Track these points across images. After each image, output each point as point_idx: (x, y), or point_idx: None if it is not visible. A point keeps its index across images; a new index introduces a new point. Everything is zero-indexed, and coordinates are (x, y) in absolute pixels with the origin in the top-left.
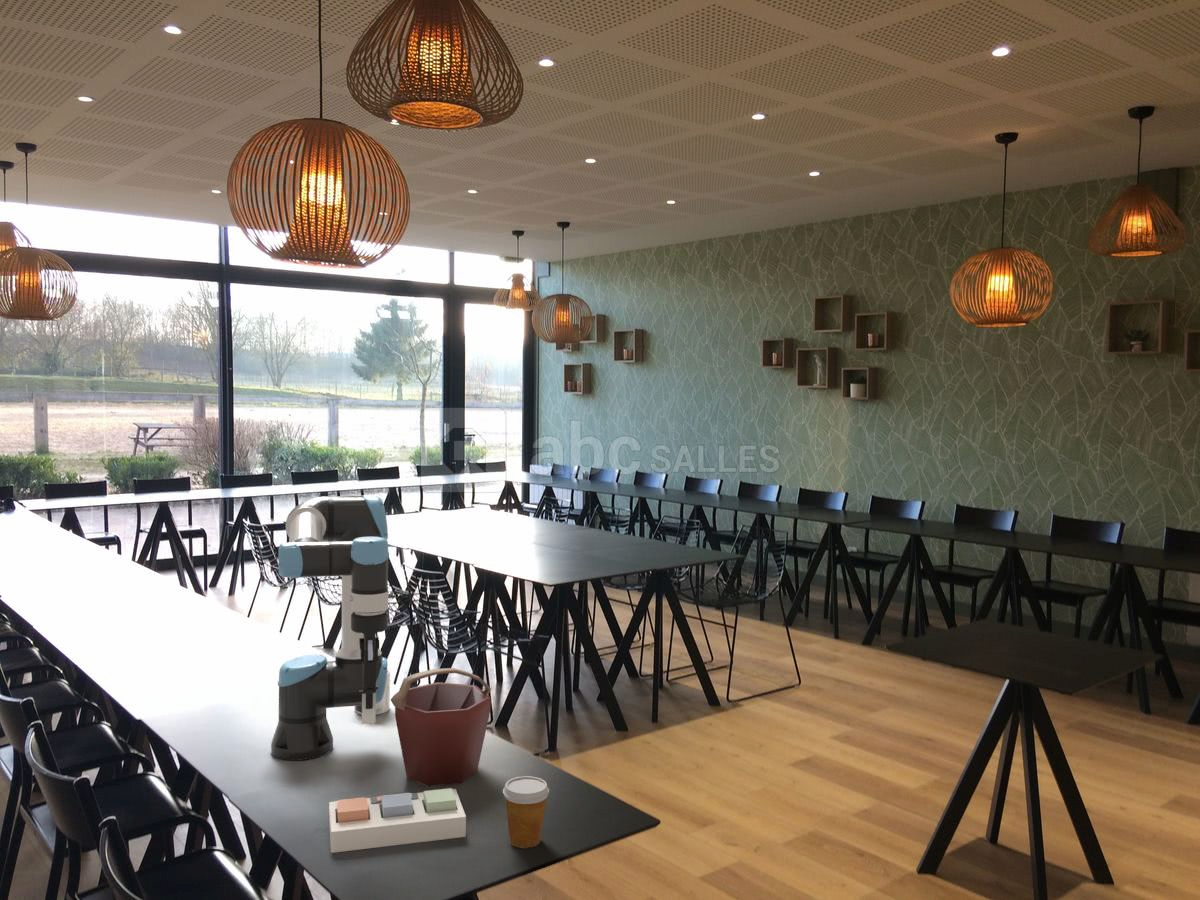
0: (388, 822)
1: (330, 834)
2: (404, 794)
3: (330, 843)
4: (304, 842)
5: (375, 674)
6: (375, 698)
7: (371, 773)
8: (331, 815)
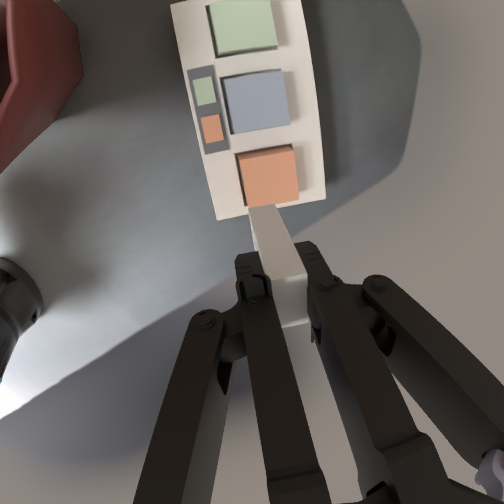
0: (307, 112)
1: None
2: (232, 89)
3: None
4: None
5: (462, 347)
6: (297, 254)
7: (45, 183)
8: None
